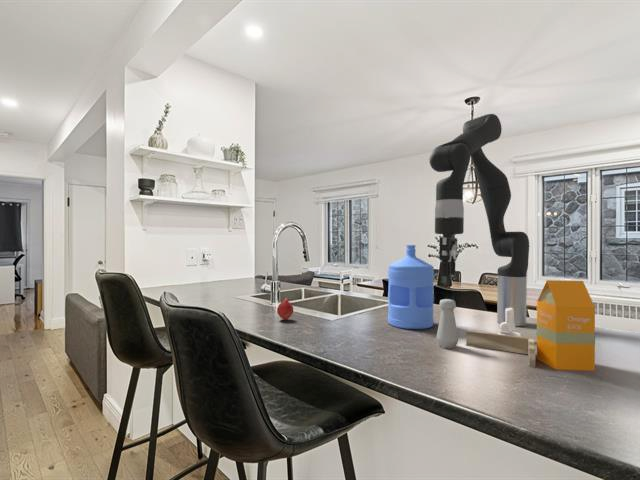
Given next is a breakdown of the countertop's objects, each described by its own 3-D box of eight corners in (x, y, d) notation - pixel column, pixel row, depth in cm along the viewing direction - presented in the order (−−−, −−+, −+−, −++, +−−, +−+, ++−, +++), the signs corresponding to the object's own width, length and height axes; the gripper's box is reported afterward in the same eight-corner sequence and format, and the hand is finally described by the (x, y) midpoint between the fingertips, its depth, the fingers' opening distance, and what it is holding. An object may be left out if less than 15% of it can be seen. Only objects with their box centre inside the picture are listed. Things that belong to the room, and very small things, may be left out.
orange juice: (536, 358, 88) (536, 278, 88) (572, 359, 87) (572, 279, 88) (556, 369, 80) (556, 282, 80) (595, 370, 80) (596, 282, 80)
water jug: (386, 319, 132) (387, 244, 133) (429, 320, 130) (430, 245, 130) (388, 328, 117) (389, 244, 117) (437, 331, 115) (438, 245, 115)
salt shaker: (442, 342, 101) (442, 297, 101) (462, 346, 97) (462, 299, 97) (432, 346, 97) (432, 299, 97) (452, 351, 93) (452, 302, 93)
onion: (275, 321, 126) (275, 299, 126) (279, 318, 131) (280, 296, 131) (291, 322, 125) (291, 299, 125) (294, 318, 130) (295, 297, 130)
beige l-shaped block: (466, 344, 100) (466, 330, 100) (533, 353, 92) (533, 338, 92) (460, 355, 89) (461, 339, 89) (535, 367, 81) (535, 349, 81)
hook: (501, 326, 99) (492, 309, 105) (501, 353, 106) (492, 335, 111) (529, 322, 98) (518, 304, 104) (527, 350, 104) (517, 332, 110)
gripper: (439, 219, 106) (439, 272, 105) (429, 215, 93) (429, 276, 93) (466, 218, 102) (466, 274, 102) (459, 214, 89) (459, 278, 89)
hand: (448, 275), depth 97 cm, fingers open, 8 cm apart
